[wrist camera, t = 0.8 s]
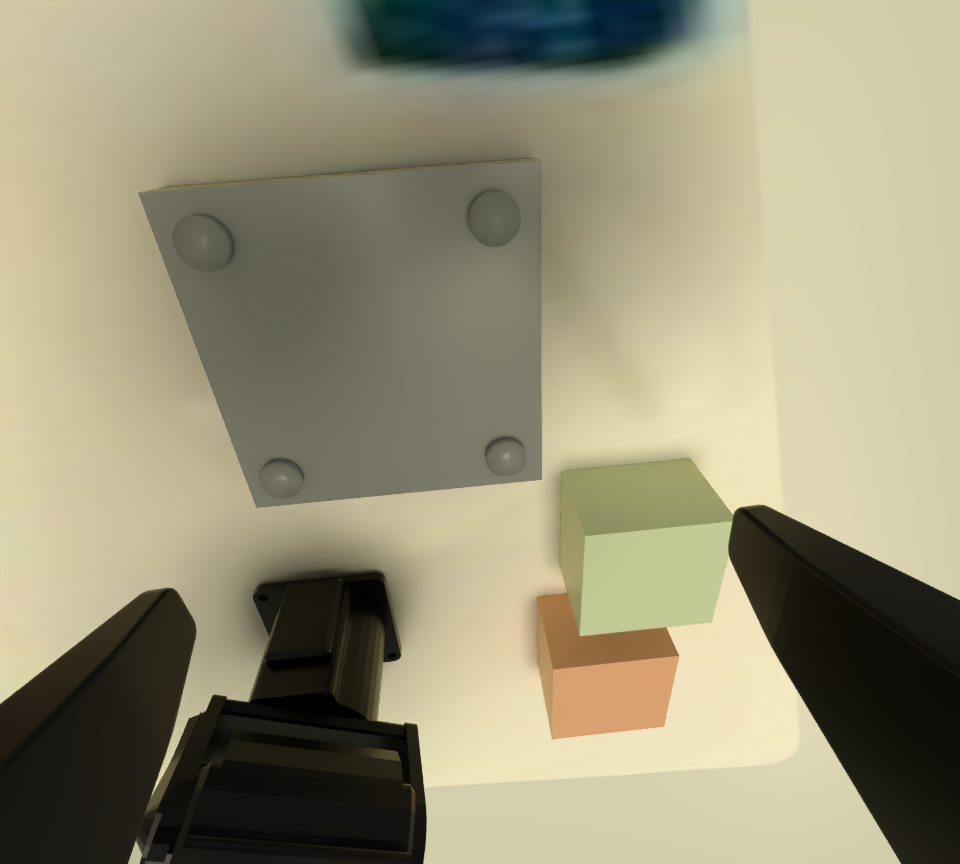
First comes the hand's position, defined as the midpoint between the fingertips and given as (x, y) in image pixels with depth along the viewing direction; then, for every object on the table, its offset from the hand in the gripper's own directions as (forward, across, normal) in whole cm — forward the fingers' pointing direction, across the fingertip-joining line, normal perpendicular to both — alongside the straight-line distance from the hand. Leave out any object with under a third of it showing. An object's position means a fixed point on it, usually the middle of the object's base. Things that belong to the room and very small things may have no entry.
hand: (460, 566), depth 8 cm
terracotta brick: (+13, -6, +19) cm, 24 cm away
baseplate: (+13, +3, +1) cm, 13 cm away
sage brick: (+13, -7, +11) cm, 19 cm away
